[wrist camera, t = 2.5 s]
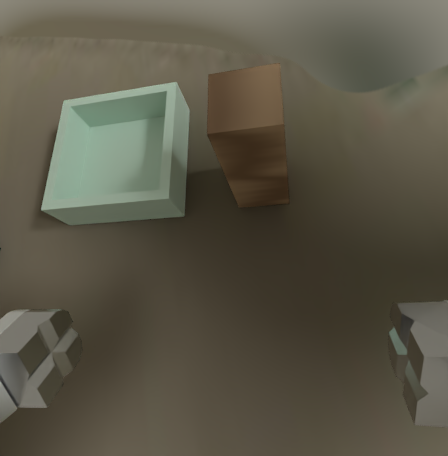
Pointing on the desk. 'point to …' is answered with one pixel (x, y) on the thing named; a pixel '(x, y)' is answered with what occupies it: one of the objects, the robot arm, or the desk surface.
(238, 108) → the walnut block
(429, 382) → the robot arm
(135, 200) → the tray
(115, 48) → the desk surface
